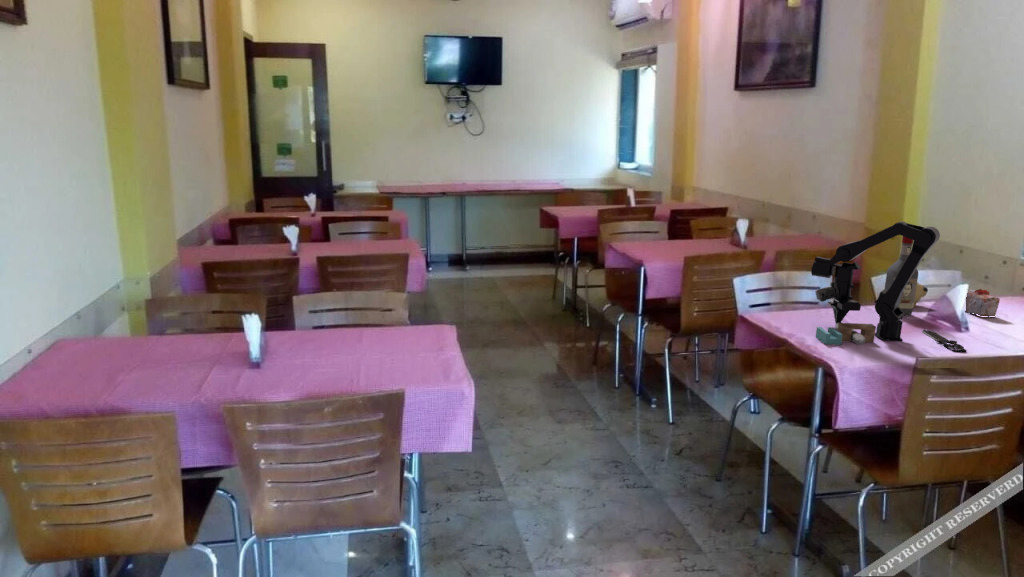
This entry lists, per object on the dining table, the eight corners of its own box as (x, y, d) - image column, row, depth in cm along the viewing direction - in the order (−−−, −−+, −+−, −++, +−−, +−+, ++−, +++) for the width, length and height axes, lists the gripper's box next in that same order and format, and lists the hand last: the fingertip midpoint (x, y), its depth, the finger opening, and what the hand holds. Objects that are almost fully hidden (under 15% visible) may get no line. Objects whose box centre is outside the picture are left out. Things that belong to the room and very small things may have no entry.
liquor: (878, 309, 295) (889, 232, 289) (901, 309, 296) (913, 233, 289) (891, 315, 287) (903, 236, 280) (914, 316, 287) (927, 237, 280)
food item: (1000, 319, 288) (1004, 293, 286) (981, 319, 287) (986, 293, 284) (972, 309, 301) (977, 285, 299) (954, 309, 300) (959, 285, 297)
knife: (918, 331, 269) (919, 327, 269) (938, 332, 268) (938, 328, 268) (947, 352, 245) (947, 348, 244) (968, 354, 244) (969, 350, 243)
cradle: (831, 337, 255) (832, 327, 255) (841, 344, 248) (842, 334, 247) (815, 337, 255) (816, 326, 255) (825, 344, 248) (826, 333, 247)
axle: (844, 330, 265) (844, 321, 264) (865, 344, 249) (865, 335, 248) (834, 331, 265) (835, 322, 264) (855, 345, 249) (855, 335, 248)
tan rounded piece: (929, 307, 301) (934, 281, 299) (903, 308, 298) (907, 282, 296) (911, 301, 310) (915, 276, 308) (886, 302, 308) (890, 276, 305)
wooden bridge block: (869, 339, 255) (871, 323, 253) (873, 342, 252) (875, 326, 250) (836, 338, 254) (838, 322, 253) (840, 341, 252) (842, 325, 250)
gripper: (809, 273, 272) (804, 316, 276) (830, 285, 254) (824, 331, 258) (840, 274, 272) (835, 317, 276) (864, 286, 254) (857, 332, 258)
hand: (837, 324), depth 267 cm, fingers closed
